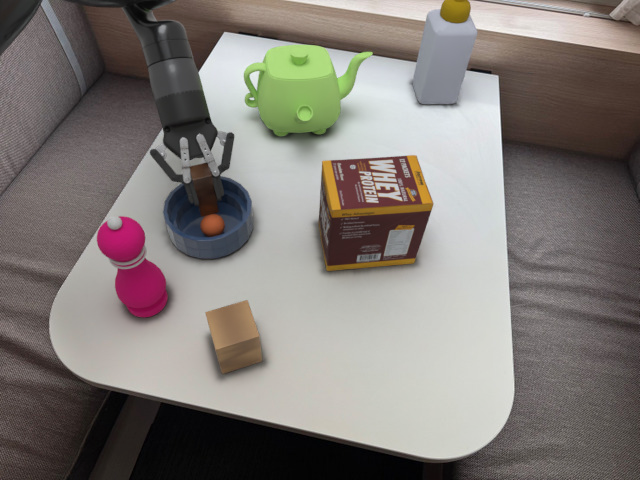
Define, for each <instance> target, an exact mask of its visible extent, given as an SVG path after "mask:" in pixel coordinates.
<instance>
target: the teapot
mask: <svg viewBox="0 0 640 480" xmlns="http://www.w3.org/2000/svg"><path fill="white" fill-rule="evenodd" d="M373 54H374V53H373V51H363V52H360V53H357V54H356V55H354V56H353V57H352V58H351V60H350V62H349V64H348V66H347V69H346V71H345V72H344V74H342V75H341V76H339V77H338V76H337V74H336V73H337V72H336V69H335V66H334V64H333V60H332V58H331V56H330V53H329V51H328V50H327V48H325V47H323V46H320V45H313V44H288V45H279V46H275V47H272V48H269V49H268V50H267V51H266V53H265V55H264V56H263V60H262V61H261V62H259V61H257V62H253V63H251V64H249V65H248V66H247V67H246V68H245V69H244V72H243V81H244V84H245V86H246V88H247V90H248V91H249V92H248V93H246V94H245V96H244V104H245V105H246V106H247V107H249V108H252V109H253V108H254V109H255V108H257V110H258V114H259V117H260V119H261V121H262V122H263V124H264V125H265V126H266V127H267V128H268V129H269V130H272V131H273V134H274V135H275V136H278V137H286V136H288V135H289V134H290V133H292V134H293V133H295V134H297V133H299V134H302V133H311V132H312V133H313V134H316V135H324V134H325V133H326V132H327V129H329V128H331V127H332V126H333V125H334V124H335V123H336V122H337V121H338V119H339V118H340V115H341V108H342V107H341V100H343V99H345V98H347V96H348V95H350V93H351V92H352V90H353V89H354V86H355V83H356V78H357V75H358V72H359V68H360V67H361V65H362V63H363V62H364V61H365V60H367V59H368V58H370V57H371V56H372V55H373ZM255 72H258V77H257V84H256V85H257V86H256V87H255V86H254V84H253V82H252V80H251V77H250V75H251V74H253V73H255ZM251 98H253V99H251Z"/></svg>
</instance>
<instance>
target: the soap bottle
mask: <svg viewBox="0 0 640 480" xmlns="http://www.w3.org/2000/svg"><path fill="white" fill-rule="evenodd" d="M471 10H472V7H471V2H470V1H469V0H443V1H442V4H441V6H440V8H436V9H432V10H429V11H428V13H427V14H426V17H425V22H424V27H423V31H422V35H421V41H420V45H419V50H418V55H417V58H416V64H415V68H414V73H413V76H412V77H413V78H412V83H411V84H412V86H413V89H414V93H415V96H416V100H417V101H418V102H419V103H420V104H423V105H451V104H456V103H457V102H458V98H459V95H460V93H461V89H462V86H463V82H464V80H465V79H464V78H465V75H466V74H467V73H466V72H467V69H468V66H469V63H470V59H471V56H472V53H473V49H474V47H475V43H476V40H477V36H478V29H477V27H476V25H475V23H474V20H473V18H472V16H471V14H470V13H471Z"/></svg>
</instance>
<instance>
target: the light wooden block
mask: <svg viewBox="0 0 640 480" xmlns="http://www.w3.org/2000/svg"><path fill="white" fill-rule="evenodd" d="M204 313H205V317H206V321H207V324H208V329H209V334H210V336H211V340H212V344H213V347H214V350H215V354H216V358H217V361H218V365H219V369H220V372H221V374H222V375H225V374H227V373H230V372H234V371H237V370H240V369H243V368H246V367H249V366H252V365H255V364H258V363H261V362H263V357H262V356H263V355H262V347H261V346H262V345H261V337H260V333H259V330H258V327H257V325H256V321H255V319H254V316H253V312H252V309H251V306H250V303H249V300H248V299H246V300H242V301H239V302H235V303H232V304H229V305H224V306H223V307H222V306H221V307H219V308H218V307H217V308H215V309H212V310H208V311H205V312H204Z"/></svg>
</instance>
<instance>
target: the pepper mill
mask: <svg viewBox="0 0 640 480" xmlns="http://www.w3.org/2000/svg"><path fill="white" fill-rule="evenodd" d="M145 234H146V233H145V229H144V228H143V227H142V225H141V224H140V223H139V222H138V221H137V220H136V219H134V218H132V217H129V216H125V215H124V216H121V215H119V216H118V215H112V216H109V217H108V218H107V220H106V221H105V222H103V223H102V225H100V227H99V228H98V230H97V233H96V244H97V247H98V249H99V251H100V252H101V254H102V255H104V256H105V257H106V258H107V259H108V260H109V264H111V266H113V267H114V268H116V270H117V271H116V276H115V278H114V289H115V294H116V296H117V298H118V300H119V301H120V302H121V303H122V304H123V305H125V306H126V309H127V310H128V312H129V313H130V314H131V315H133V316H135V317H138V318H150V317H153V316H155V315H157V314H159V313H160V312H162V310H164V308H165V307H166V306H167V304H168V303H167V302H168V292H167V289H166V288H167V279H166V276H165V273H163V271H162V269H161V268H160V267H159V266H158V265H157V264H156V263H154V262H152V261H151V260H149V259H147V258H146V257H147V247H146V235H145Z"/></svg>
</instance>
